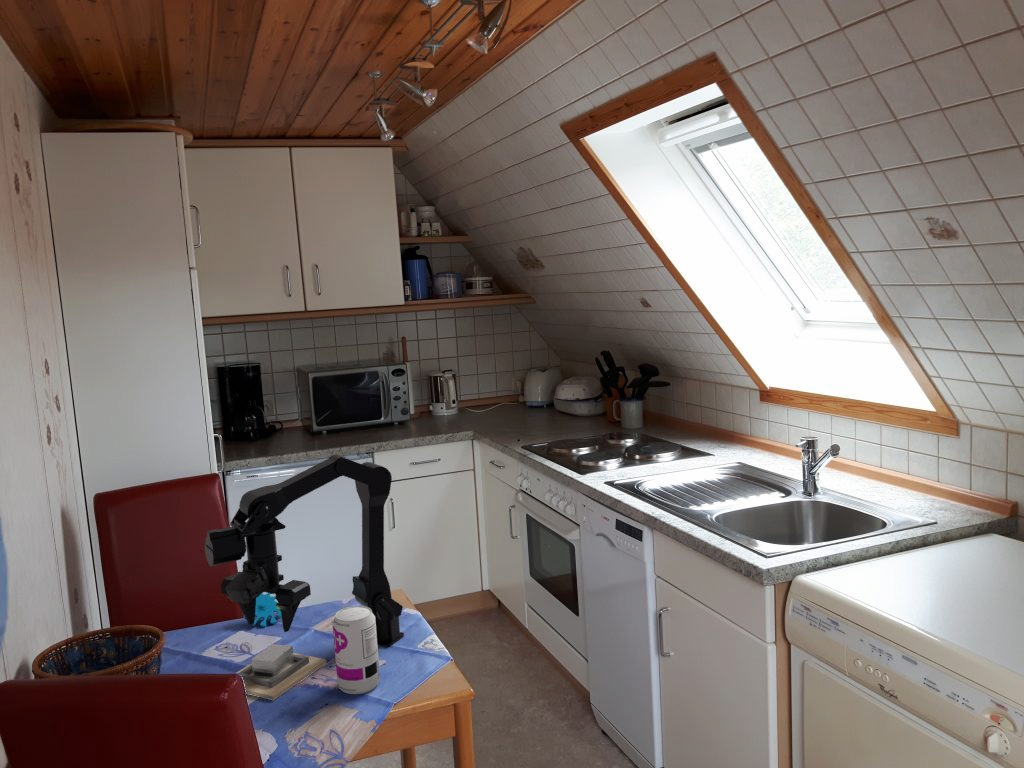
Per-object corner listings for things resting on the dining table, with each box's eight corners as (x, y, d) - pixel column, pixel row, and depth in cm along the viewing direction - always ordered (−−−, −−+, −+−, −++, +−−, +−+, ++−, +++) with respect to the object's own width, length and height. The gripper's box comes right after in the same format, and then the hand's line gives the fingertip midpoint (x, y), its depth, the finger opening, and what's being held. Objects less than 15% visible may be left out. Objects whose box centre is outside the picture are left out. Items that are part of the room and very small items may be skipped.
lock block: (294, 664, 172) (292, 645, 171) (274, 681, 165) (272, 662, 164) (273, 661, 173) (272, 643, 173) (252, 678, 166) (251, 659, 166)
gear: (240, 625, 190) (241, 585, 196) (239, 636, 195) (240, 596, 201) (290, 623, 194) (289, 583, 200) (288, 633, 198) (287, 594, 204)
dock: (326, 663, 173) (325, 654, 173) (273, 701, 159) (272, 690, 159) (274, 653, 179) (273, 643, 179) (219, 688, 165) (218, 677, 165)
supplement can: (345, 700, 158) (338, 625, 156) (333, 682, 165) (327, 610, 163) (385, 688, 162) (380, 615, 160) (372, 671, 169) (367, 601, 167)
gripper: (196, 562, 162) (204, 637, 164) (270, 573, 154) (277, 652, 156) (238, 544, 172) (244, 615, 174) (309, 553, 164) (315, 628, 166)
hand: (268, 628), depth 168 cm, fingers open, 9 cm apart
